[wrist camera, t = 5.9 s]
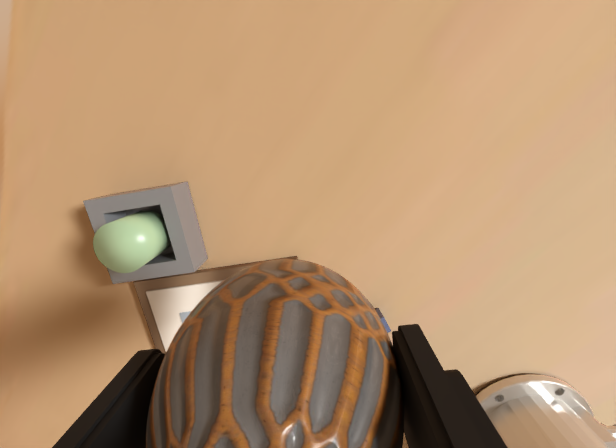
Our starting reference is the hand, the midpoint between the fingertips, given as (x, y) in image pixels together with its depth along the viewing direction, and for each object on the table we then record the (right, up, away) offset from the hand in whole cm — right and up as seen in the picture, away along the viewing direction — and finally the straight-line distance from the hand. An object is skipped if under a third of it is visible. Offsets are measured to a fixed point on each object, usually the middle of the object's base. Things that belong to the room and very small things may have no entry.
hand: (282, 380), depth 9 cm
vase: (0, +1, +4) cm, 4 cm away
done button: (-12, +4, +16) cm, 20 cm away
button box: (-12, +5, +17) cm, 22 cm away
